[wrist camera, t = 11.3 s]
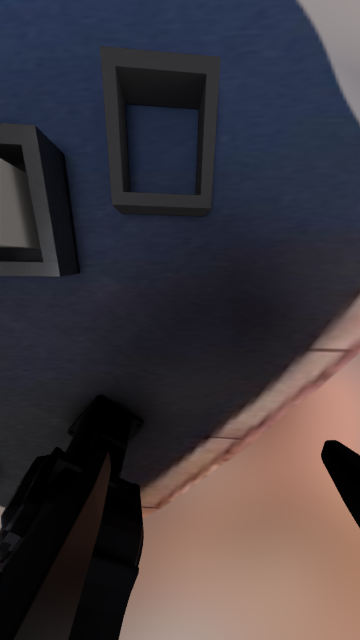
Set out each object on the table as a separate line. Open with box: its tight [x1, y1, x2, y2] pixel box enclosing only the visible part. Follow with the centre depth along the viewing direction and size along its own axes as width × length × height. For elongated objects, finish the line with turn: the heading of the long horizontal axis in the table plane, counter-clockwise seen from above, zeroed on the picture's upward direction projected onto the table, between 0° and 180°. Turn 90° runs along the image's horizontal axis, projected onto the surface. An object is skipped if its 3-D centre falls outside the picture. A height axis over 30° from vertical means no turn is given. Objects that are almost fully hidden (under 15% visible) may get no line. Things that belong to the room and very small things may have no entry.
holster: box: [100, 46, 220, 216], centre depth 14 cm, size 8×7×3 cm
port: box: [0, 123, 80, 277], centre depth 15 cm, size 9×8×4 cm
